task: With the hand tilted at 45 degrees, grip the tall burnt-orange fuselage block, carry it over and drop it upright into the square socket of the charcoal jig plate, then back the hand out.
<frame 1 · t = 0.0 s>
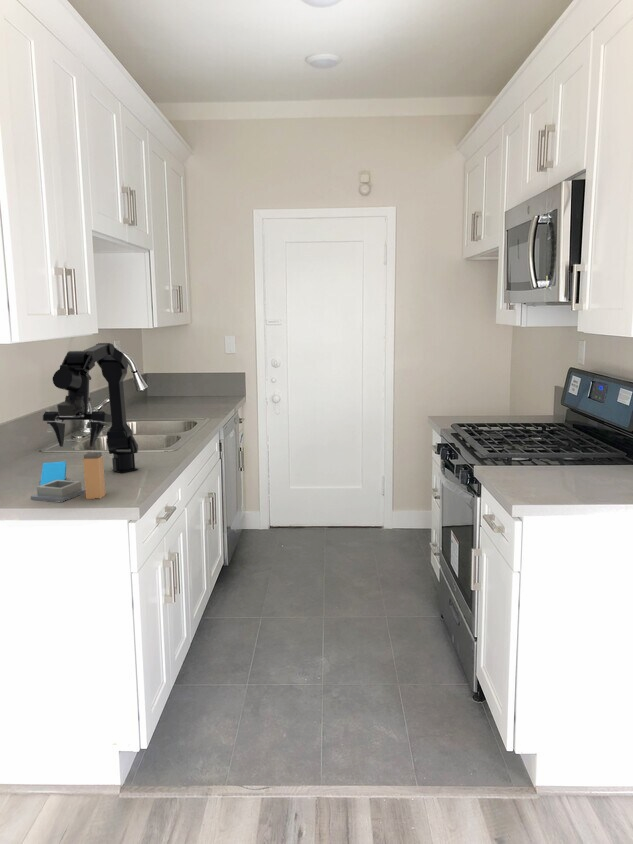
hand: (76, 446, 199), 15 cm above the countertop, tool pointing down, fingers open, 9 cm apart
jig cradle: (60, 495, 204), on the countertop
blue block: (55, 484, 220), on the countertop
fuselage block: (95, 496, 203), on the countertop
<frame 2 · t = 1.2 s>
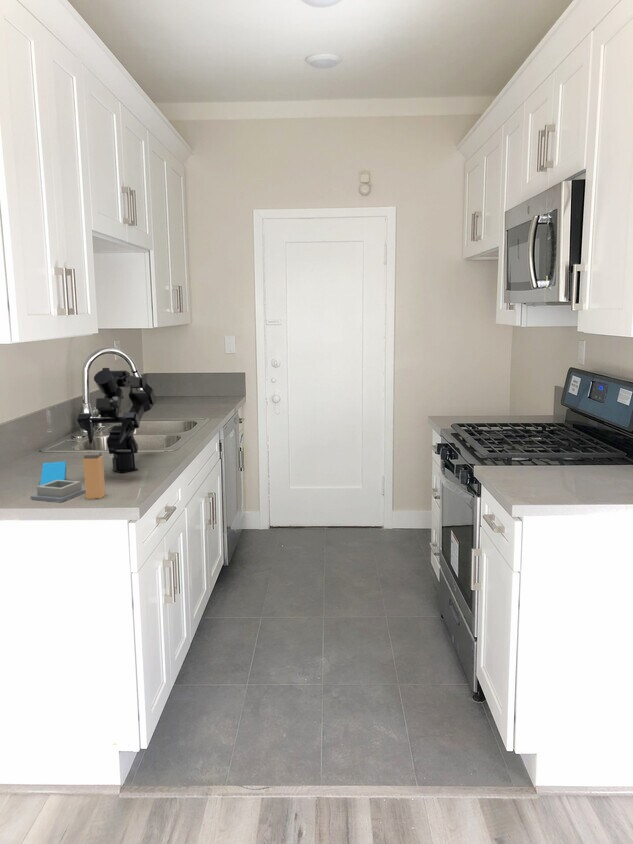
hand: (104, 442, 215), 13 cm above the countertop, tool tilted 45°, fingers open, 9 cm apart
nothing on the countertop moved.
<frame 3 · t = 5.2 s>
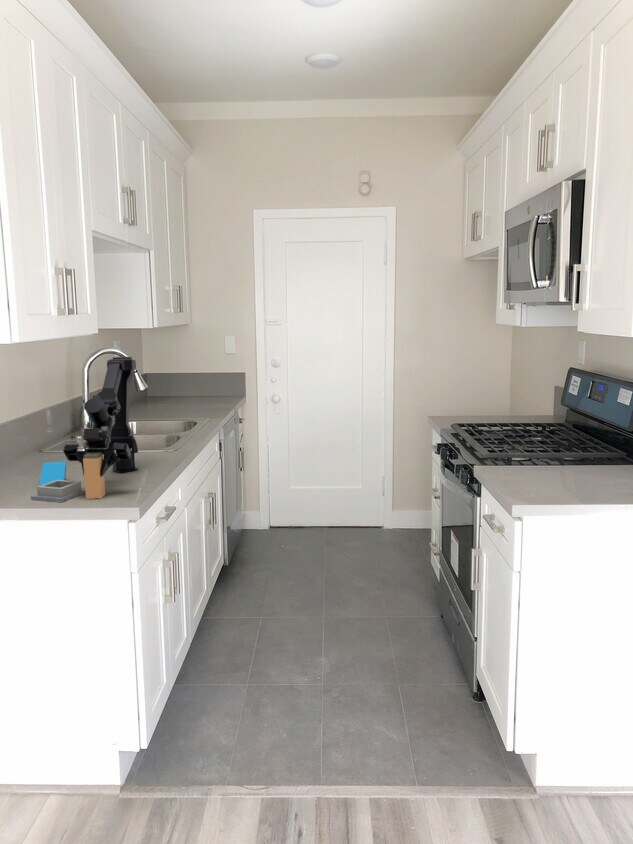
hand: (92, 476, 200), 7 cm above the countertop, tool tilted 45°, fingers closed on fuselage block, 4 cm apart
fuselage block: (95, 496, 203), on the countertop, touching gripper
everything else where it was.
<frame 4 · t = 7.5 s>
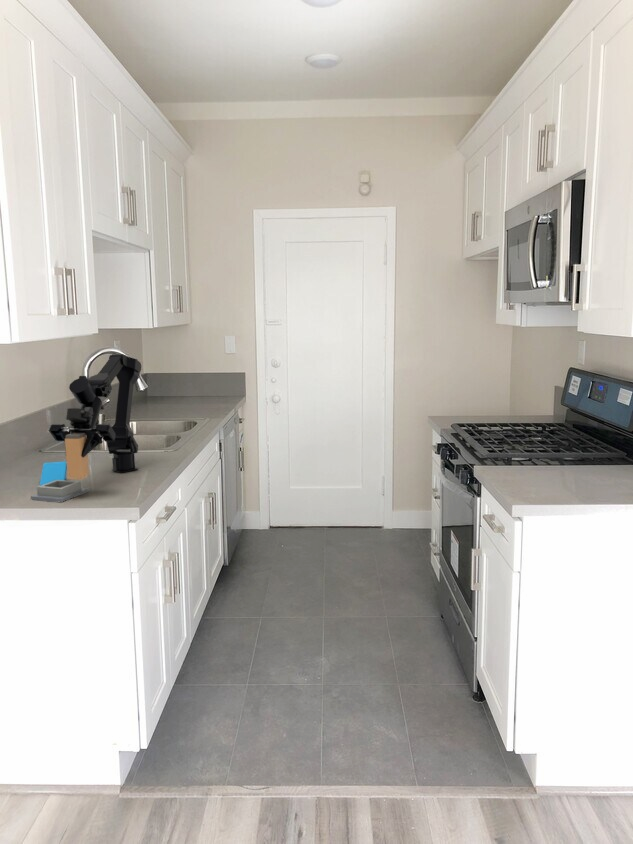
hand: (74, 456, 199), 12 cm above the countertop, tool tilted 45°, fingers closed on fuselage block, 4 cm apart
fuselage block: (78, 477, 202), point 6 cm above the countertop, touching gripper
everything else where it was.
when the fingers open (9 cm above the countertop, at t = 9.8 s): fuselage block drops 1 cm, resting on jig cradle.
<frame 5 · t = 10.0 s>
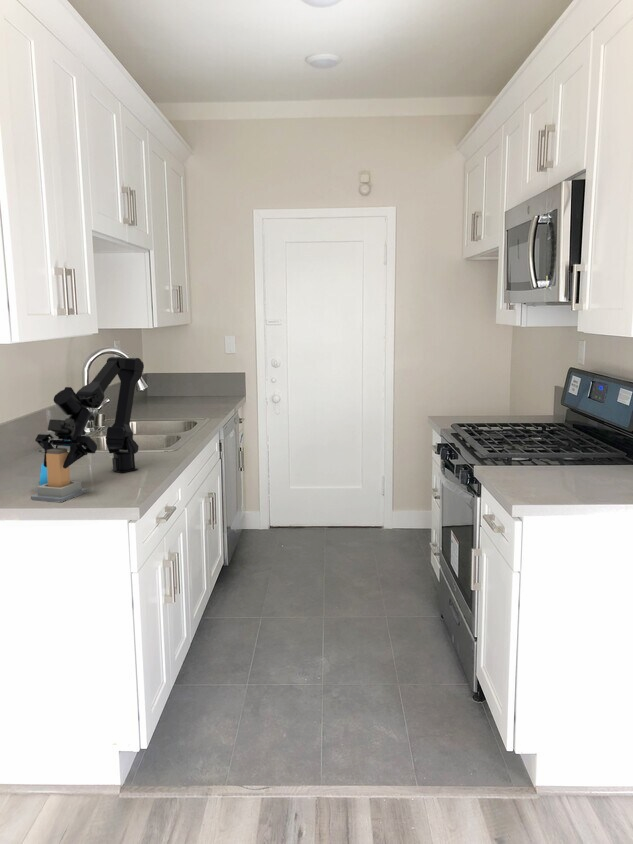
hand: (54, 467, 202), 9 cm above the countertop, tool tilted 45°, fingers open, 7 cm apart
fuselage block: (59, 492, 204), point 1 cm above the countertop, touching jig cradle
everything else where it was.
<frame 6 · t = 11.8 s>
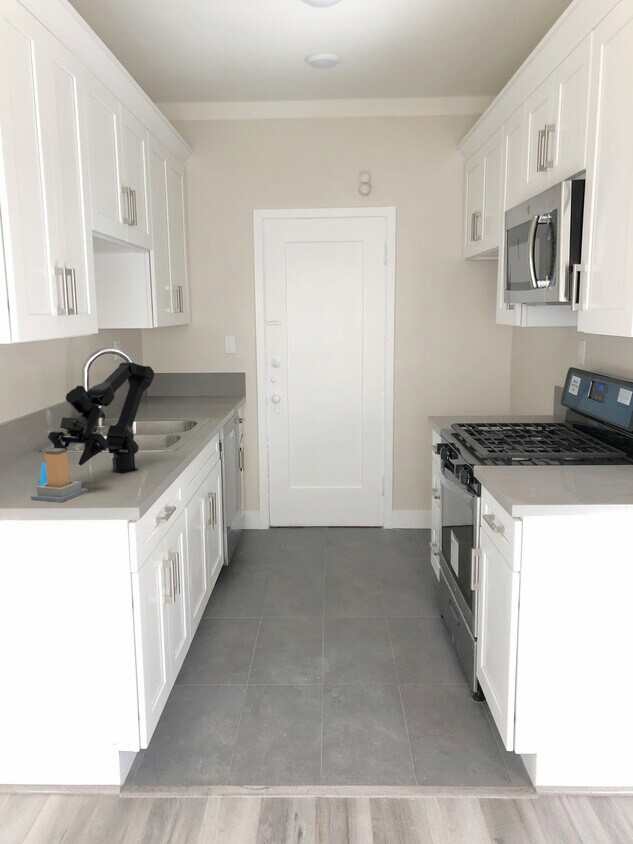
hand: (67, 463, 207), 9 cm above the countertop, tool tilted 45°, fingers open, 9 cm apart
nothing on the countertop moved.
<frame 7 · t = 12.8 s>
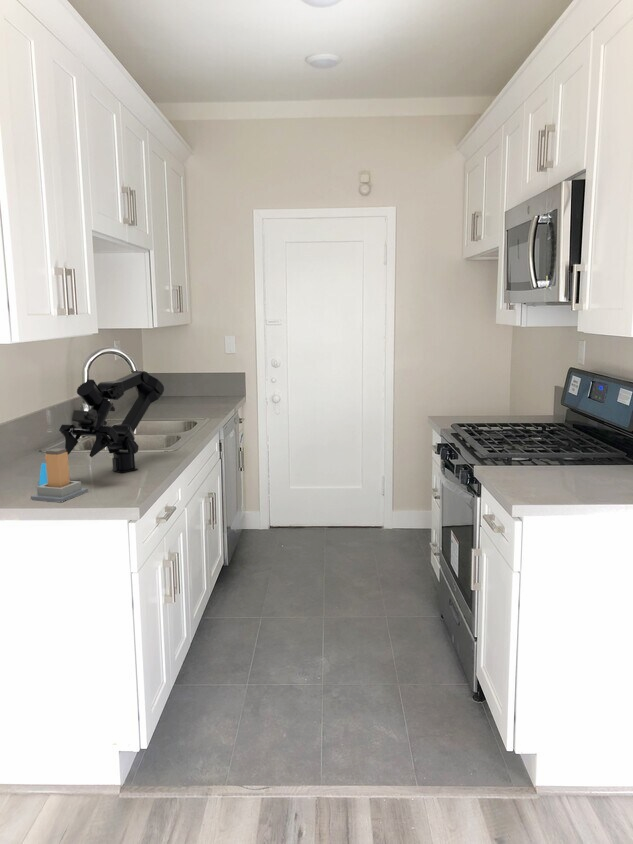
hand: (78, 455, 212), 10 cm above the countertop, tool tilted 45°, fingers open, 9 cm apart
nothing on the countertop moved.
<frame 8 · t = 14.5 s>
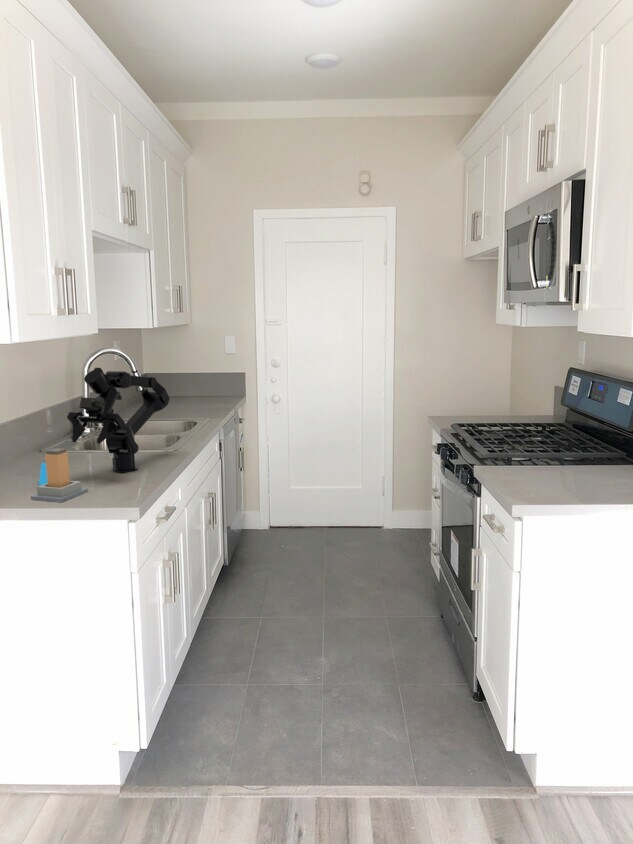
hand: (85, 442, 215), 14 cm above the countertop, tool tilted 45°, fingers open, 9 cm apart
nothing on the countertop moved.
at the end: fuselage block 0.1 cm off-centre on the jig cradle, point 1.0 cm above the jig cradle's base; fuselage block tilted 0°; the gripper is holding nothing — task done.
